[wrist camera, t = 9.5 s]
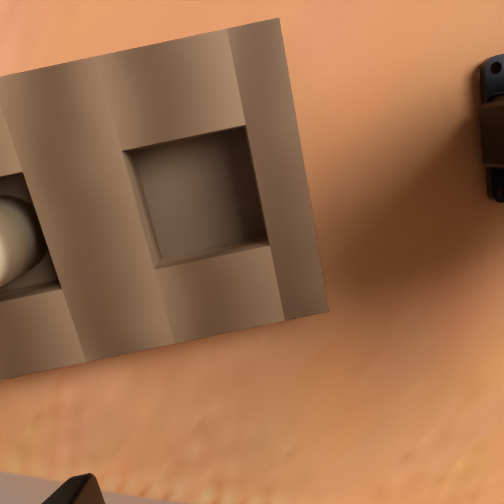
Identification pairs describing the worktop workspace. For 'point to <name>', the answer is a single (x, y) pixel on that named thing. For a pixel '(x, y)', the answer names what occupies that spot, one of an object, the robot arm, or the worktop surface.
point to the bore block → (157, 199)
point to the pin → (19, 238)
